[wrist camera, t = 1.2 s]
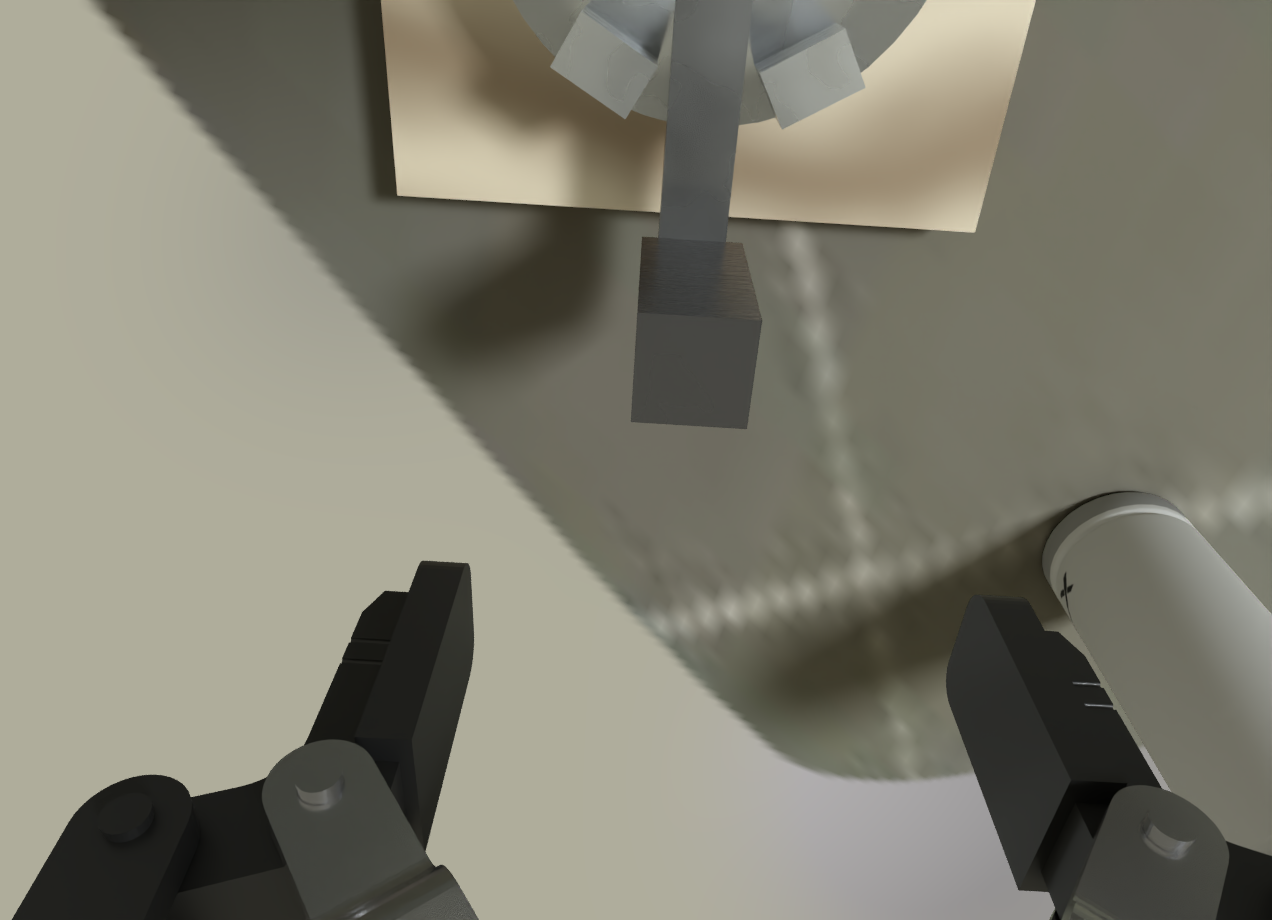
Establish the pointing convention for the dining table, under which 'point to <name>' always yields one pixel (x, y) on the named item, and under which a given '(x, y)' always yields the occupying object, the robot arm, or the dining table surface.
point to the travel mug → (1175, 651)
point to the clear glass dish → (708, 158)
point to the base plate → (765, 154)
